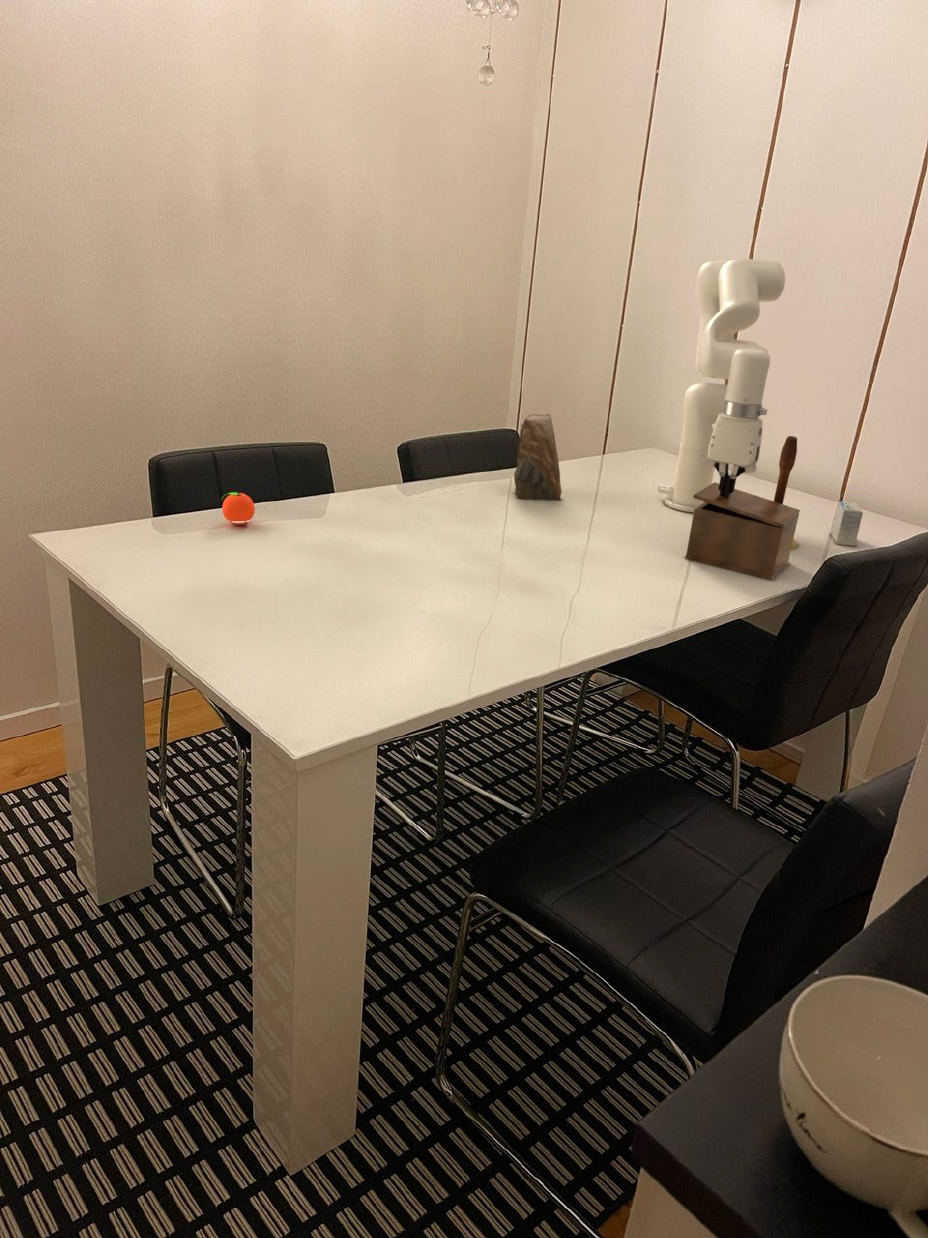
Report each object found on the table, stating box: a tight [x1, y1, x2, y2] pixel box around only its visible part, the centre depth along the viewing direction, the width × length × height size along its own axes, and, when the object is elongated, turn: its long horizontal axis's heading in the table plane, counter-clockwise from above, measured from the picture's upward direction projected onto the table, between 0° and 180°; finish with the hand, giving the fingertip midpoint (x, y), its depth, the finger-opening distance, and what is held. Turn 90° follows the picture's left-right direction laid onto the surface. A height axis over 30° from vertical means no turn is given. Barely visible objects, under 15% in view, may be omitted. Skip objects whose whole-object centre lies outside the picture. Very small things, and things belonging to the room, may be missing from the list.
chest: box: [685, 502, 800, 581], centre depth 205 cm, size 19×14×12 cm
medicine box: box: [831, 501, 864, 547], centre depth 225 cm, size 8×4×9 cm, turn 168°
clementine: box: [220, 492, 256, 526], centre depth 204 cm, size 8×7×7 cm
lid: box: [693, 481, 801, 528], centre depth 202 cm, size 20×14×1 cm
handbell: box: [773, 435, 798, 550], centre depth 217 cm, size 12×12×25 cm
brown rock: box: [513, 413, 562, 501], centre depth 241 cm, size 13×13×20 cm
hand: (725, 494), depth 204 cm, fingers closed
